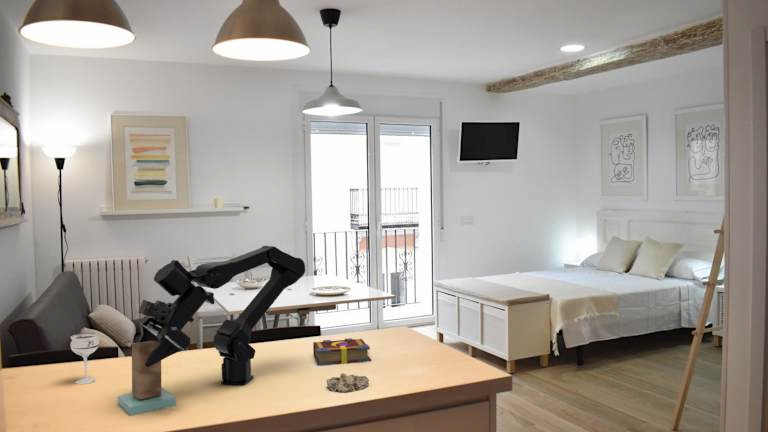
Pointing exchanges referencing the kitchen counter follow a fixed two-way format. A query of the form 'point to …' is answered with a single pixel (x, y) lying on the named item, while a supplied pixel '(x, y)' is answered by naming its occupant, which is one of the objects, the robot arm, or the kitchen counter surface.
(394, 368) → the kitchen counter surface
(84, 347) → the wineglass
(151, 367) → the walnut post
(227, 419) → the kitchen counter surface
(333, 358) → the decorative book
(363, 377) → the mineral rock
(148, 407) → the ceramic plinth
